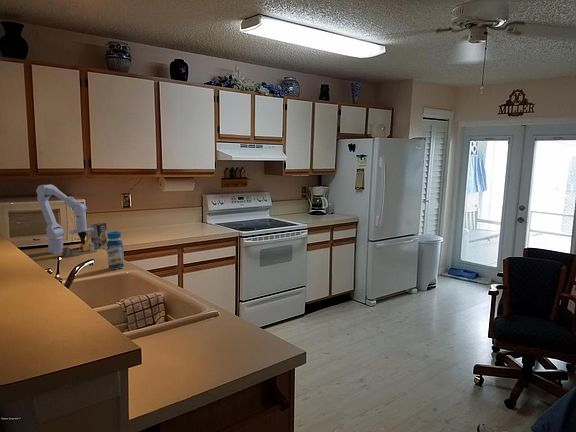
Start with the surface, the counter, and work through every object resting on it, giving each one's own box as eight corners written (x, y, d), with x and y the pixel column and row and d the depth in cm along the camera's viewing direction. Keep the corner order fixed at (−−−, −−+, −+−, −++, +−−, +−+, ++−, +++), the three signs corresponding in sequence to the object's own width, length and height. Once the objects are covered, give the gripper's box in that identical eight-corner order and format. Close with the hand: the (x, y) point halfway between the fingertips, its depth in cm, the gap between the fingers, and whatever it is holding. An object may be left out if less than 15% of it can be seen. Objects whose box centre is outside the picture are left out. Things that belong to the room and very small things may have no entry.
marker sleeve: (80, 250, 278) (79, 239, 277) (86, 249, 281) (85, 238, 280) (83, 251, 275) (82, 240, 274) (89, 250, 278) (88, 239, 277)
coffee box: (100, 249, 288) (98, 225, 286) (91, 248, 289) (89, 224, 287) (108, 246, 297) (106, 222, 295) (100, 245, 298) (98, 222, 296)
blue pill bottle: (128, 266, 241) (125, 231, 239) (118, 270, 233) (115, 234, 230) (114, 265, 244) (112, 230, 241) (105, 269, 236) (102, 233, 233)
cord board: (61, 255, 271) (60, 246, 270) (89, 250, 285) (89, 241, 284) (68, 257, 266) (67, 248, 265) (96, 251, 279) (96, 243, 279)
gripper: (72, 224, 267) (74, 246, 268) (95, 221, 278) (97, 242, 280) (67, 223, 271) (69, 245, 273) (90, 220, 282) (91, 241, 284)
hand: (83, 243), depth 277 cm, fingers closed, pressing on marker sleeve
